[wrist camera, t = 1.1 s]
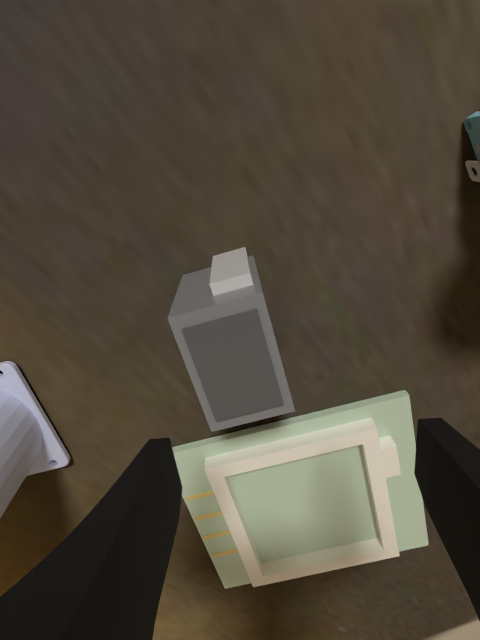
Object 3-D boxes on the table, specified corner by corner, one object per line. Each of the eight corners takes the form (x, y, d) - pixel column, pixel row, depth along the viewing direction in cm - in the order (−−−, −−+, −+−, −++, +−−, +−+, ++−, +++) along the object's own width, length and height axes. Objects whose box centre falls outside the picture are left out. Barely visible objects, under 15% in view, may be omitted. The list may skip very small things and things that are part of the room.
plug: (215, 366, 24) (211, 434, 18) (179, 265, 21) (162, 307, 16) (279, 350, 24) (295, 413, 18) (250, 245, 21) (259, 280, 15)
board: (224, 581, 32) (224, 602, 30) (164, 449, 26) (161, 466, 25) (424, 537, 30) (434, 557, 29) (405, 389, 25) (416, 404, 24)
